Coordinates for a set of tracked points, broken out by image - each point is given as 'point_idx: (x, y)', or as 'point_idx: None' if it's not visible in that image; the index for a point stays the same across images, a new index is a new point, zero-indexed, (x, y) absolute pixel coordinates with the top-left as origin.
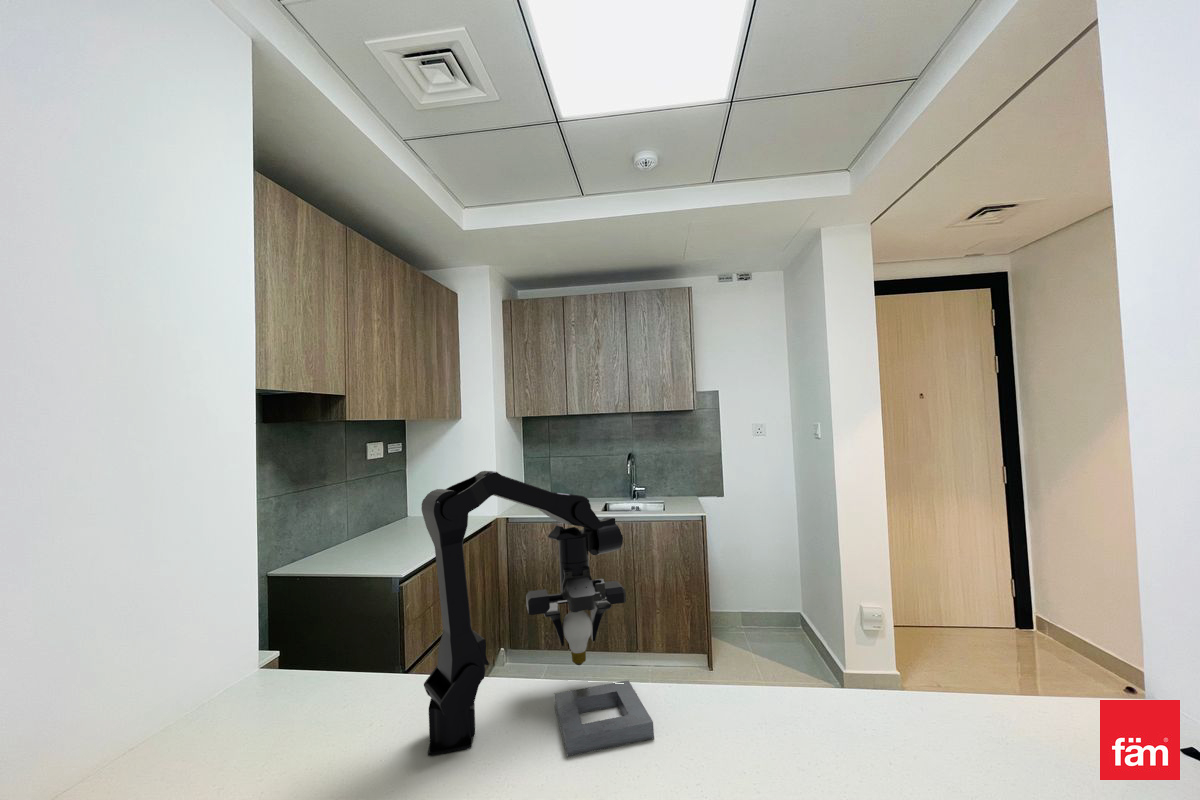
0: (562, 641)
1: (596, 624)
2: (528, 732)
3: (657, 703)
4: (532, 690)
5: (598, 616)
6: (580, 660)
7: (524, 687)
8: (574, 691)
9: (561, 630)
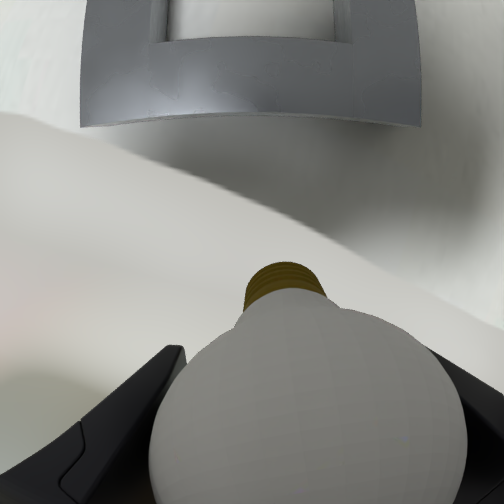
0: None
1: (104, 428)
2: (470, 47)
3: (46, 60)
4: (428, 271)
5: (45, 483)
6: (284, 269)
7: (440, 295)
8: (340, 101)
9: (472, 402)
